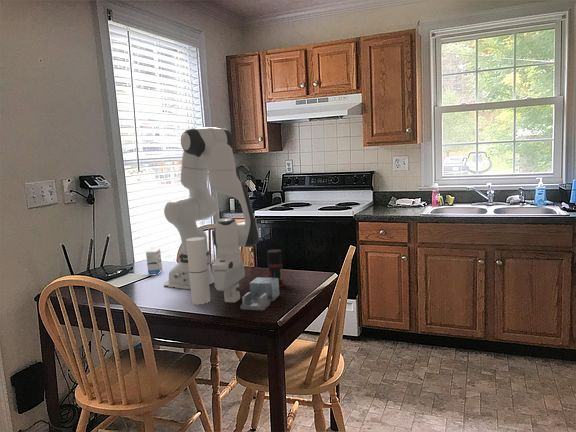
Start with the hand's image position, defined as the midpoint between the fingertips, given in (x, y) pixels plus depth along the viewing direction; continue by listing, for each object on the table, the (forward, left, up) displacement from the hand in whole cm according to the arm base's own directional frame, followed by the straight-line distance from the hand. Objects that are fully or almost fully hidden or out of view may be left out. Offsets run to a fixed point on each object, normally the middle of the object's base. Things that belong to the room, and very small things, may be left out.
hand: (232, 295), depth 184 cm
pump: (0, 0, -2) cm, 2 cm away
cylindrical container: (-12, -3, -2) cm, 13 cm away
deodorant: (+11, +21, -2) cm, 24 cm away
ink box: (-58, +36, -2) cm, 68 cm away
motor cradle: (+12, 0, -2) cm, 12 cm away
